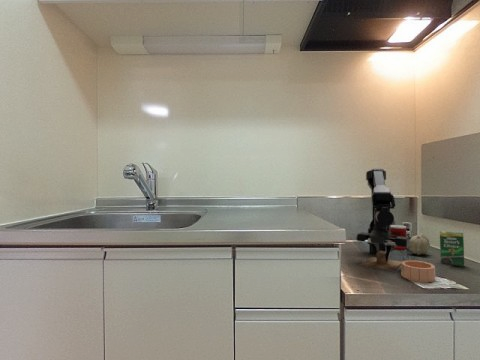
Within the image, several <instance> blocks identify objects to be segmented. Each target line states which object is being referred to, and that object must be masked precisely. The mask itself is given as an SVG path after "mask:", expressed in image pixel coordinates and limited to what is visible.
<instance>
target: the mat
mask: <svg viewBox="0 0 480 360" xmlns="http://www.w3.org/2000/svg"><path fill="white" fill-rule="evenodd" d="M365 261H366V260H364V261H363V262H365ZM363 262H361V263H360V264H359V266H360V267H365V268H369V269H370V268H372V269H378V270H383V271H387V272H393V273H398V272H400V270H401V266H400V267H399V268H397V269H396V270H395V271H392V270H386V269H381V268H375V267H370V266H364V265H362V263H363Z"/></svg>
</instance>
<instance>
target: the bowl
mask: <svg viewBox="0 0 480 360" xmlns="http://www.w3.org/2000/svg"><path fill="white" fill-rule="evenodd" d="M400 270H401V272H400V273H401V276H402V278H404V279H406V280H409V281H414V282H419V283H431V282H435V281H436V266H435V265H434V264H433V263H430V262H426V261H421V260H410V259H409V260H403V261H401V269H400Z"/></svg>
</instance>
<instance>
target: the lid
mask: <svg viewBox="0 0 480 360" xmlns="http://www.w3.org/2000/svg"><path fill="white" fill-rule="evenodd" d="M376 254H377V258H376V256H371V257H369V258H368V259H366V260H364V261H365V262H364V261H363V262H361V263H362V265H364V266H363V267H365V266H370V267H375V268H374V269H376V268H381V269H386V270H385V271H387V270H392V271H395V270H396V269H397V268H399V267H400V266H401V262H402V261H400V260H393V259H390V258H389V259H388V261H386V252H385V251H379V252H378V253H376ZM370 267H369V268H370ZM381 269H380V270H381ZM392 271H391V272H392Z"/></svg>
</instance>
